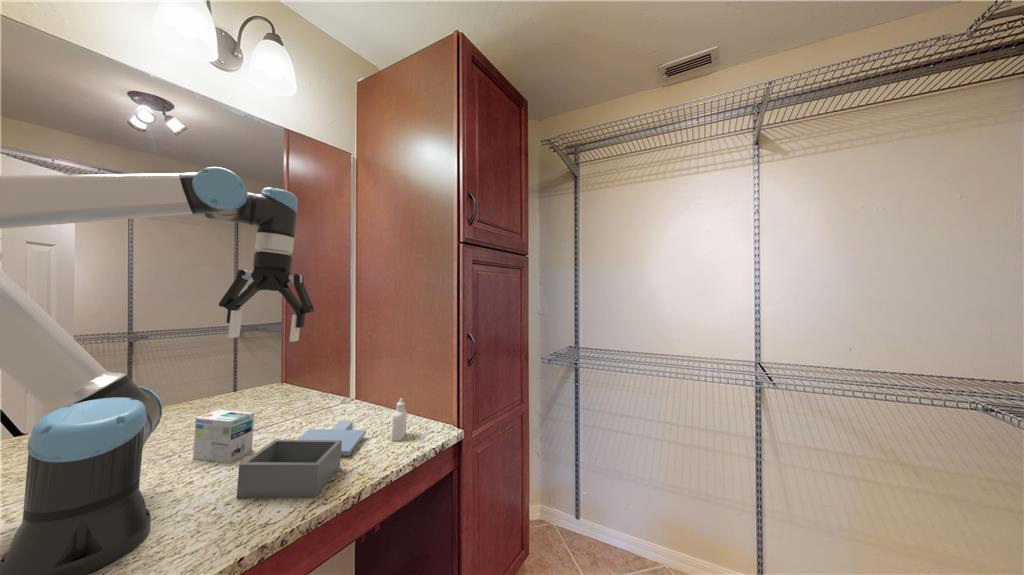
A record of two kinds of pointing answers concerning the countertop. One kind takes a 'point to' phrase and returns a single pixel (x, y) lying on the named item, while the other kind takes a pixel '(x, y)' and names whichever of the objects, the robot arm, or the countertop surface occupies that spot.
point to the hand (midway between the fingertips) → (264, 339)
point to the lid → (337, 435)
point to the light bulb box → (223, 435)
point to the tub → (289, 469)
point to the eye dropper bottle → (399, 422)
